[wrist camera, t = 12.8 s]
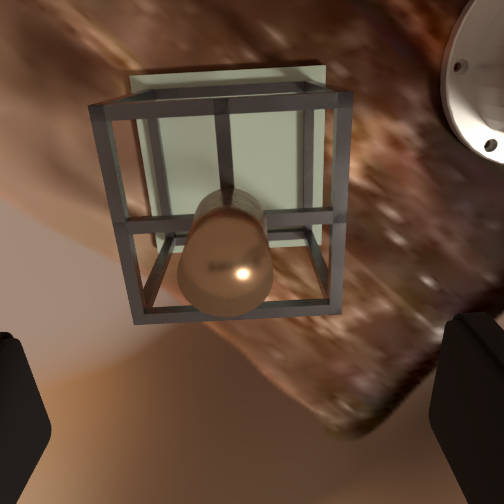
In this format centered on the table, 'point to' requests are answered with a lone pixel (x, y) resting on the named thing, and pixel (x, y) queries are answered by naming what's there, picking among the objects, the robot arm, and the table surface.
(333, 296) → the dark grey metal frame
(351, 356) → the table surface
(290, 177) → the mat
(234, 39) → the table surface
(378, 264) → the table surface
